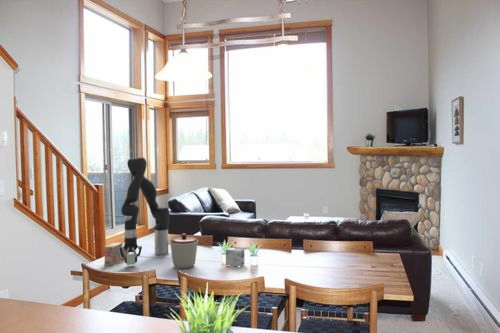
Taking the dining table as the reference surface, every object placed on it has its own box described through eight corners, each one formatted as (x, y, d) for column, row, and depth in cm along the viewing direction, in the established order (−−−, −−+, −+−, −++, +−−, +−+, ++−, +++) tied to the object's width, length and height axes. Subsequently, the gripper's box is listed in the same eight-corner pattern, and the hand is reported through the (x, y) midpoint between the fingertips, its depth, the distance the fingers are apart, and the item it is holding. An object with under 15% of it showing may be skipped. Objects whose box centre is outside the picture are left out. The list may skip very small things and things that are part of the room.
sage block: (135, 262, 273) (135, 253, 273) (135, 264, 268) (134, 254, 268) (127, 262, 272) (126, 253, 272) (126, 264, 267) (126, 255, 267)
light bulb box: (244, 265, 274) (244, 248, 274) (241, 267, 268) (241, 250, 268) (229, 263, 278) (229, 247, 278) (225, 266, 272) (225, 249, 271)
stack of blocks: (120, 257, 293) (120, 239, 293) (128, 257, 292) (128, 239, 292) (104, 265, 272) (104, 246, 272) (113, 266, 271) (113, 246, 270)
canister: (197, 262, 280) (197, 230, 279) (199, 270, 262) (199, 235, 262) (169, 263, 277) (169, 231, 276) (169, 271, 259) (169, 236, 258)
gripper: (142, 234, 275) (142, 260, 275) (119, 235, 271) (119, 262, 272) (142, 236, 267) (142, 263, 268) (118, 238, 264) (118, 265, 265)
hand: (131, 262), depth 270 cm, fingers closed on sage block, 5 cm apart
